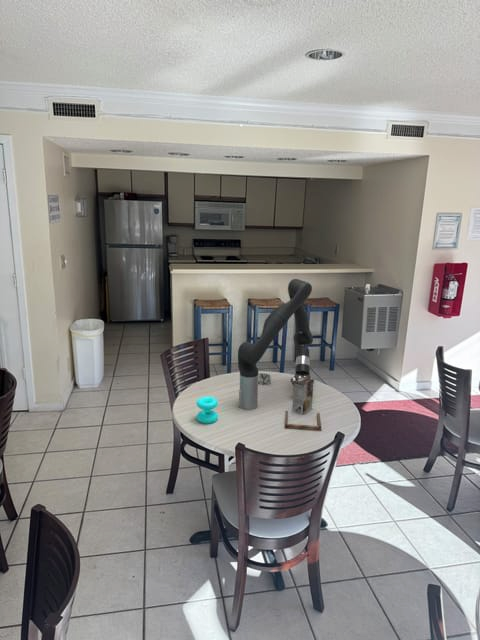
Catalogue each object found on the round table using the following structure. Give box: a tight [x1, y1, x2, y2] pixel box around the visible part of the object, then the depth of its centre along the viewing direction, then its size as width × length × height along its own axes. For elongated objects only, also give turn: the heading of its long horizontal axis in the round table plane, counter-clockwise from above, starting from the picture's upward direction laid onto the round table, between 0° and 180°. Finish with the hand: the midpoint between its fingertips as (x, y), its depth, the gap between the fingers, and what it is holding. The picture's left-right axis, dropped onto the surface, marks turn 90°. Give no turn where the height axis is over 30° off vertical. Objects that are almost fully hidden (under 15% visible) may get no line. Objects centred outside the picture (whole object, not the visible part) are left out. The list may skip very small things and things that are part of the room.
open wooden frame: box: [284, 410, 322, 432], centre depth 206 cm, size 16×14×2 cm
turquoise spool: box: [196, 396, 219, 424], centre depth 206 cm, size 10×10×10 cm
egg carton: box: [258, 372, 272, 386], centre depth 252 cm, size 11×8×4 cm
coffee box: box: [292, 376, 314, 416], centre depth 216 cm, size 9×6×16 cm
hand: (302, 396), depth 224 cm, fingers closed
